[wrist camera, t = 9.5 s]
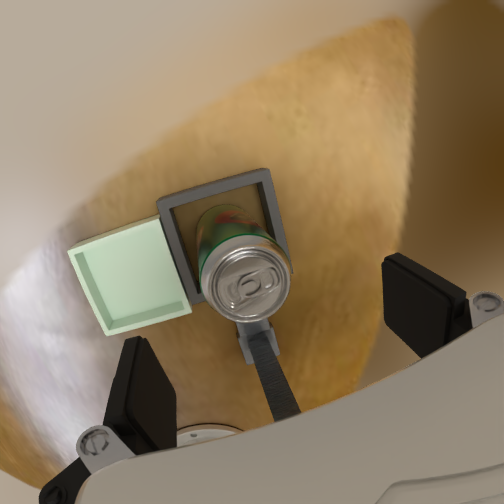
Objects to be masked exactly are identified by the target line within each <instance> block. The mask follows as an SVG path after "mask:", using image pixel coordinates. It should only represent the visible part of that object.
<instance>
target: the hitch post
mask: <svg viewBox="0 0 504 504" xmlns="http://www.w3.org/2000/svg"><path fill="white" fill-rule="evenodd" d="M236 325H237V328H238V331H239V333H236V334H237V338H238V341H239V344H240V346H241V349H242V352H243V355H244V358H245V361H246V363H247V365H250V364H253V363H255V366H256V369H257V372H258V375H259V378H260V381H261V384H262V387H263V389H264V392H265V395H266V398H267V401H268V404H269V407H270V410H271V412H272V415H273V418H274V421H275V422H276V421H279V420H282V419H285V418H288V417H291V416H294V415H296V414H299V413H301V411H300V409H299V406H298V404H297V402H296V400H295V398H294V395H293V393H292V391H291V389H290V387H289V384H288V382H287V380H286V378H285V376H284V373H283V371H282V369H281V367H280V364H279V362H278V360H277V358H276V356H277V355H280V352H279V348H278V344H277V340H276V337H275V333H274V329H273V326H272V324H271V322H270V323H269V322H268V319H267V318H266V319H264V320H261V321H258V322H253V323H239V322H236Z"/></svg>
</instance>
